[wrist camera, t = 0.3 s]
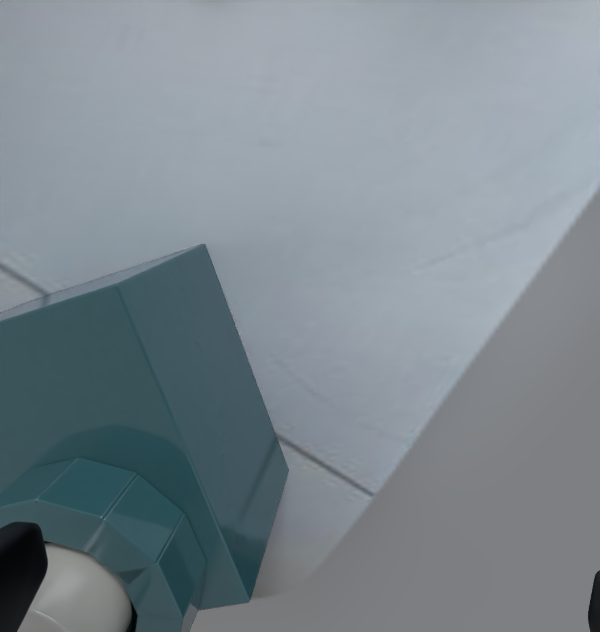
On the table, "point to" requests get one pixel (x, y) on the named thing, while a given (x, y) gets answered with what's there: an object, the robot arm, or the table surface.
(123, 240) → the table surface
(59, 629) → the white push button
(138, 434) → the dispenser
